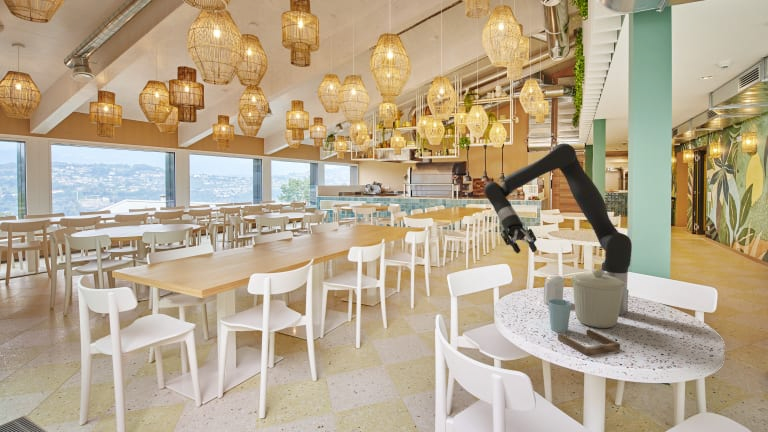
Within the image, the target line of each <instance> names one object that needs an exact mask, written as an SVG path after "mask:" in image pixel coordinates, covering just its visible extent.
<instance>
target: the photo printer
mask: <svg viewBox="0 0 768 432" xmlns="http://www.w3.org/2000/svg"><path fill="white" fill-rule="evenodd" d="M543 286H544V287H543V303H544V305H548V306H549V303H548V301H549V300H551V299H561V300H564V278H563V277H562V275H558V274H554V275H553V274H552V275H550V276H547V278H545V280H544V282H543Z"/></svg>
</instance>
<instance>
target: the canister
mask: <svg viewBox="0 0 768 432" xmlns="http://www.w3.org/2000/svg"><path fill="white" fill-rule="evenodd" d="M570 281H571V282H572V288H573V290H572V291H573V301H574V310H575V312H574V313H575V316H576V318H577V320H578V321H579V322H580V323H581V324H583V325H585V326H588V327H592V328H598V329H599V328H600V329H608V328H612V327H614V326H615V325H616V324H617V322H618V319H619V316H620V315H619V311H620V306H621V300H622V295H623V289H624V287H626V284H625V283H624V282H623V281H621V280H620V279H618V278H615V277H612V276H608V275H603V271H602V268H594V269H593V270H592V272H591V273H579V274H575V275H574V276H572V277H570Z"/></svg>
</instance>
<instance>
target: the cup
mask: <svg viewBox="0 0 768 432" xmlns="http://www.w3.org/2000/svg"><path fill="white" fill-rule="evenodd" d="M548 303H549V305H548V313H549V325H550V330H551V331H553V332H556V333H558V334H562V333H563V334H564V333H567V332H568V329H569V328H568V327H569V323H570V316H571V311H572V303H573V302H571V301H569V300H565V299H563V300H561V299H551V300H549V301H548Z"/></svg>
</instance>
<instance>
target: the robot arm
mask: <svg viewBox="0 0 768 432" xmlns="http://www.w3.org/2000/svg"><path fill="white" fill-rule="evenodd" d="M557 169H559V170H560V172H561V173H562V174H563V176H564V178H565V180H566V182H567V185H568V188H569V191H570V193H571V194H572V196H573V198H574V200H575V202H576V204H577V206H578V207H579V209H580V210H581V213H583V215H584V217H585V218H586V219H587V221H588V222H589V225H591V228H592V230H593V231H594V233H595V236H596V239H597V240H598V242H599V245H600V246H601V249H602V250H604V252H605V257H604V261H603V262H602V263H601V270H602V271H603V275H608V276H612V277H615V278H618V279H620V280H621V281H623V282H624V283H625V284H626V287H624V289H623V295H622V300H621V306H620V311H619V316H622V315H626V313H628V311H629V310H628V308H629V307H628V306H629V289H628V274H629V273H628V272H629V268H630V266H631V261H632V251H633V250H632V249H633V248H632V240H631V238H630V237H629V236H628V235H626V234H624V233H621V232H619V231H618V229H617V228H616V227H615V226H614V224H613V222H612V220H611V219H610V216H609V213H608V210H607V209H608V208H607V205H606V202H605V199H604V198H603V196H602V194H601V193H600V191H599V188H597V186H596V185H595V182H593V181H592V179H591V178H590V176H588V174H587V173H586V172H585V170H584V169H583V167H582V165H581V163H580V161H579V159H578V156H577V153H576V150H575V148H574V147H573V146H572V145H571V144H568V143H564V142H563V143H560V144H559V143H558V144H557V145H555V146H554V148H552V150H551V151H550V152H549V153H547V154H545V156H544V157H542V158H540V159H538V160H536V161H534V162H533V163H530V164H528V165H525V166H524V167H521V168H519V169H517V170H515V171H513V172H511V173H510V174H508V175H506V176H505V177H504V178H503V183H502V184H501V185H500V184H499V183H497V182H496V181H488V182H487V183H486V184H485V185H484V188H483V191H484V194H485V197H486V198H487V200H488V201H489V203H490V204H491V205H492V207H493V209H494V211H495V214H496V215H497V217H498V220H499V222H500V224H501V226H502V228H503V230H502V231H501V233H500V236H501V238H502V240H503V241H504V243H505V245H506V246H509V245H510V247H512V249H513V251H514V253H516V254H519V253H521V248H520V247H519V245H518V243H517V241H522V242H523V243H526V244H527V245H528V247H529V249H530V250H531V252H532V253H535V252H536V251H537V249H538V248H537V245H536V244H535V242H536V241H537V240H538V239H537V237H536V235H535V234H534V232H533V230H532V228H529V229H525V228H524V226H523V221H521V219H520V216H519V215H518V213H517V211H516V210H515V209H514V208H513V206H512V204H511V202H510V201H509V199H508V198H507V197H508V196H509V195H511V194H512V192H514V191H515V190H518V189H519V188H521V187H523V186H525V185H527V184H528V183H530V182H532V181H535V179H537V178H539V177H541V176H543V175H545V174H548V173H549V172H552V171H554V170H557Z"/></svg>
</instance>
